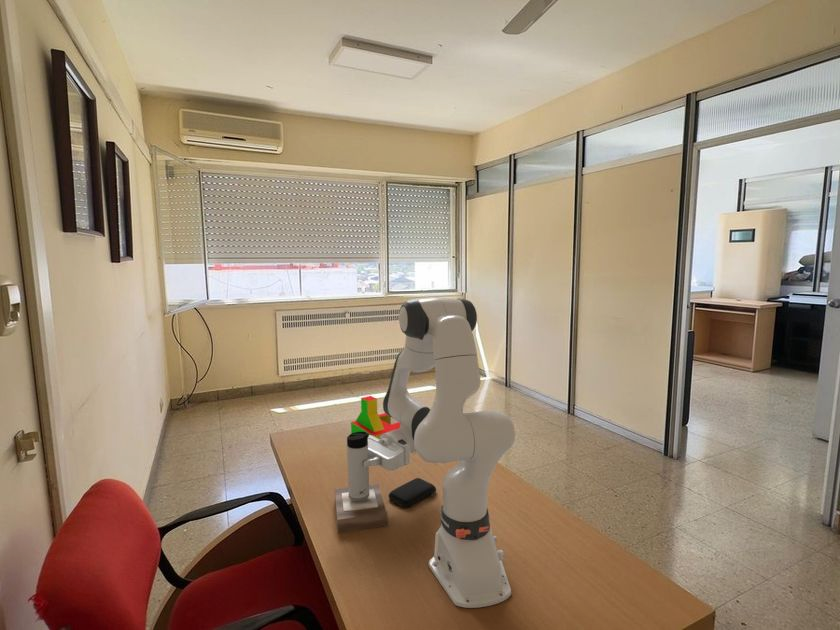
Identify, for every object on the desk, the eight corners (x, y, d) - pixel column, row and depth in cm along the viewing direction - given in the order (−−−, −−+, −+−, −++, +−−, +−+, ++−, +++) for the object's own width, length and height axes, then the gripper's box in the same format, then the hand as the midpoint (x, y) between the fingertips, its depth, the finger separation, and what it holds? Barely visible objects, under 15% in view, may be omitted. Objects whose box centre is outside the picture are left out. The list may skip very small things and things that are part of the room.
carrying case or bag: (409, 513, 134) (441, 494, 145) (408, 504, 134) (441, 485, 144) (386, 500, 142) (418, 483, 152) (385, 491, 141) (417, 474, 152)
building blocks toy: (382, 457, 172) (381, 412, 169) (351, 436, 191) (350, 396, 189) (420, 444, 183) (420, 402, 181) (387, 426, 203) (387, 387, 200)
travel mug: (366, 502, 130) (365, 438, 127) (345, 500, 131) (343, 437, 128) (373, 491, 136) (371, 430, 133) (352, 489, 137) (350, 428, 135)
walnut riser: (386, 525, 128) (386, 512, 127) (337, 532, 125) (337, 519, 124) (378, 494, 144) (378, 482, 144) (335, 500, 141) (334, 488, 140)
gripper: (371, 427, 148) (336, 439, 139) (412, 446, 133) (376, 461, 124) (372, 444, 149) (337, 458, 139) (412, 465, 134) (376, 482, 125)
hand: (355, 459), depth 132 cm, fingers closed on travel mug, 6 cm apart
